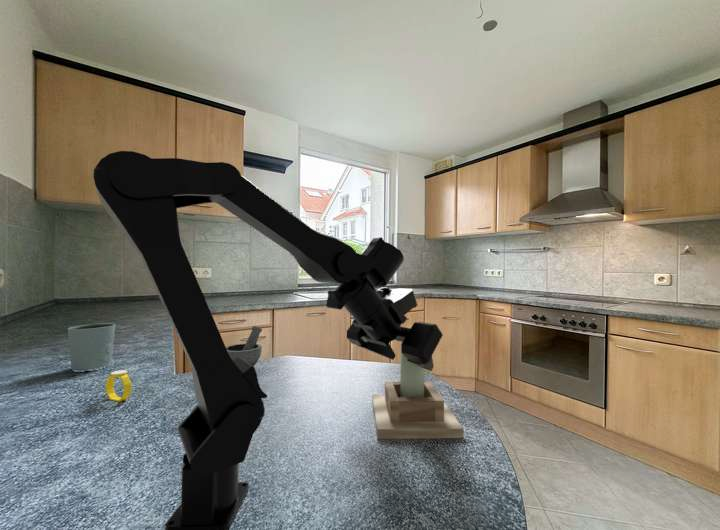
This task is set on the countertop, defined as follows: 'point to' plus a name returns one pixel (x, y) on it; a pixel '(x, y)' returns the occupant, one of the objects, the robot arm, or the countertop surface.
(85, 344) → the grey plant pot
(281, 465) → the countertop surface
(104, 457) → the countertop surface
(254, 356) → the mortar and pestle
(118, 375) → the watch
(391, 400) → the socket base
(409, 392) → the post
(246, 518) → the countertop surface
